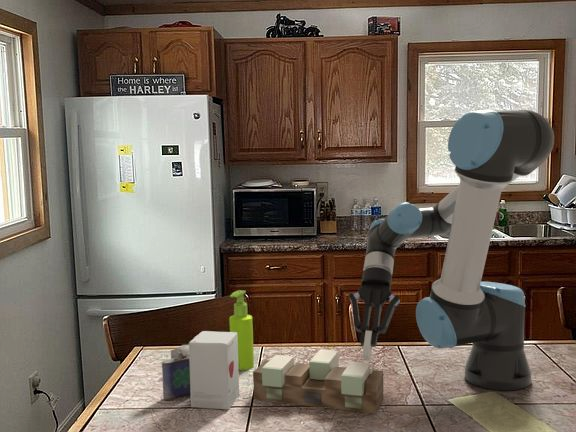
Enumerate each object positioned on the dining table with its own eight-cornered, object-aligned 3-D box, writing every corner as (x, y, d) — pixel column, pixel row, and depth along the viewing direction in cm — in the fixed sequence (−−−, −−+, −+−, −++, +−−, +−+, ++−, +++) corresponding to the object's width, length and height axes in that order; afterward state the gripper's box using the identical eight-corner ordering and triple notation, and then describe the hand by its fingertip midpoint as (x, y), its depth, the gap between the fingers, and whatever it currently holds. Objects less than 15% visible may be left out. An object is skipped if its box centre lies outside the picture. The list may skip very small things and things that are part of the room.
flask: (165, 401, 145) (163, 356, 144) (161, 397, 147) (158, 352, 146) (203, 393, 150) (201, 348, 148) (198, 389, 152) (196, 345, 151)
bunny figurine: (207, 340, 176) (203, 351, 161) (208, 359, 176) (203, 372, 161) (173, 341, 176) (165, 353, 161) (173, 360, 176) (165, 373, 161)
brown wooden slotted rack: (383, 399, 143) (383, 371, 143) (376, 414, 136) (376, 384, 135) (266, 386, 152) (265, 360, 152) (253, 400, 145) (252, 372, 144)
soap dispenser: (225, 370, 164) (222, 293, 162) (237, 361, 171) (234, 287, 168) (246, 372, 162) (243, 295, 160) (257, 363, 168) (255, 289, 166)
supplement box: (229, 410, 139) (226, 343, 138) (190, 408, 141) (187, 342, 139) (240, 394, 148) (238, 331, 146) (203, 392, 150) (201, 330, 148)
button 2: (370, 380, 143) (370, 363, 143) (362, 395, 135) (361, 377, 134) (351, 378, 145) (350, 361, 144) (341, 393, 136) (341, 375, 136)
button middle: (338, 367, 152) (338, 350, 152) (328, 380, 144) (328, 363, 143) (320, 365, 154) (320, 349, 153) (309, 378, 145) (309, 361, 145)
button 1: (294, 373, 149) (293, 356, 149) (281, 387, 141) (281, 369, 140) (276, 371, 151) (275, 354, 150) (262, 385, 142) (261, 367, 142)
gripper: (404, 282, 166) (395, 367, 153) (354, 280, 170) (341, 362, 157) (401, 266, 160) (392, 353, 147) (350, 264, 164) (336, 348, 151)
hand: (366, 357), depth 152 cm, fingers closed
